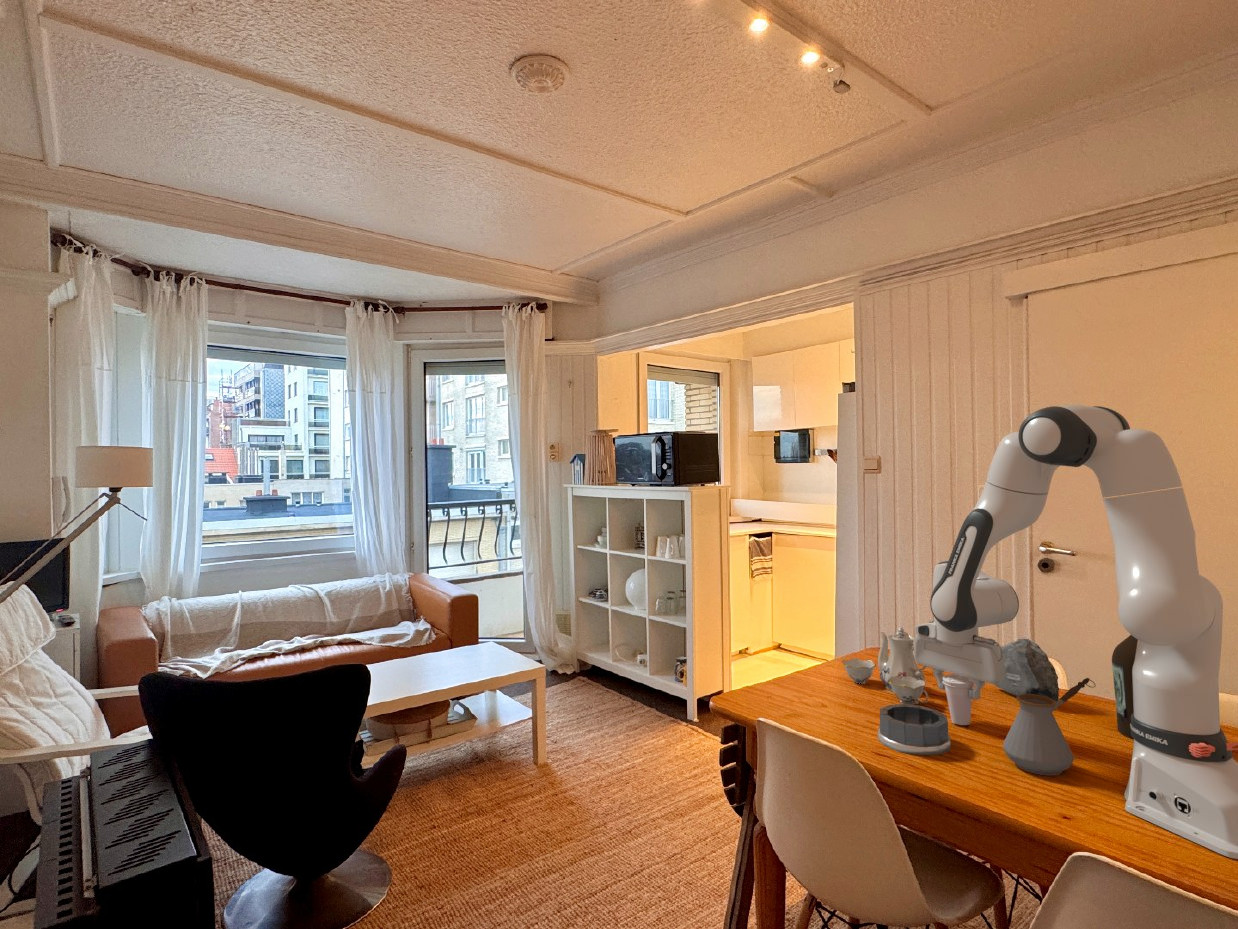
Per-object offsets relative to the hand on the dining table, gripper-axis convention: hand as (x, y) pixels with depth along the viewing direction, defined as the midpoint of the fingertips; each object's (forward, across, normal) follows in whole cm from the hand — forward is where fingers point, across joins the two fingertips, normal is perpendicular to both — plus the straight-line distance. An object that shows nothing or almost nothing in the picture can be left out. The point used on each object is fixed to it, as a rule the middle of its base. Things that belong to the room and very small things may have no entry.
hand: (958, 693), depth 148 cm
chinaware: (+7, +24, -6) cm, 25 cm away
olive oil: (+7, -23, -28) cm, 37 cm away
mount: (+7, -1, +17) cm, 18 cm away
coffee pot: (+7, -21, +2) cm, 23 cm away
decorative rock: (+7, +3, -28) cm, 29 cm away
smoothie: (+6, 0, 0) cm, 7 cm away
